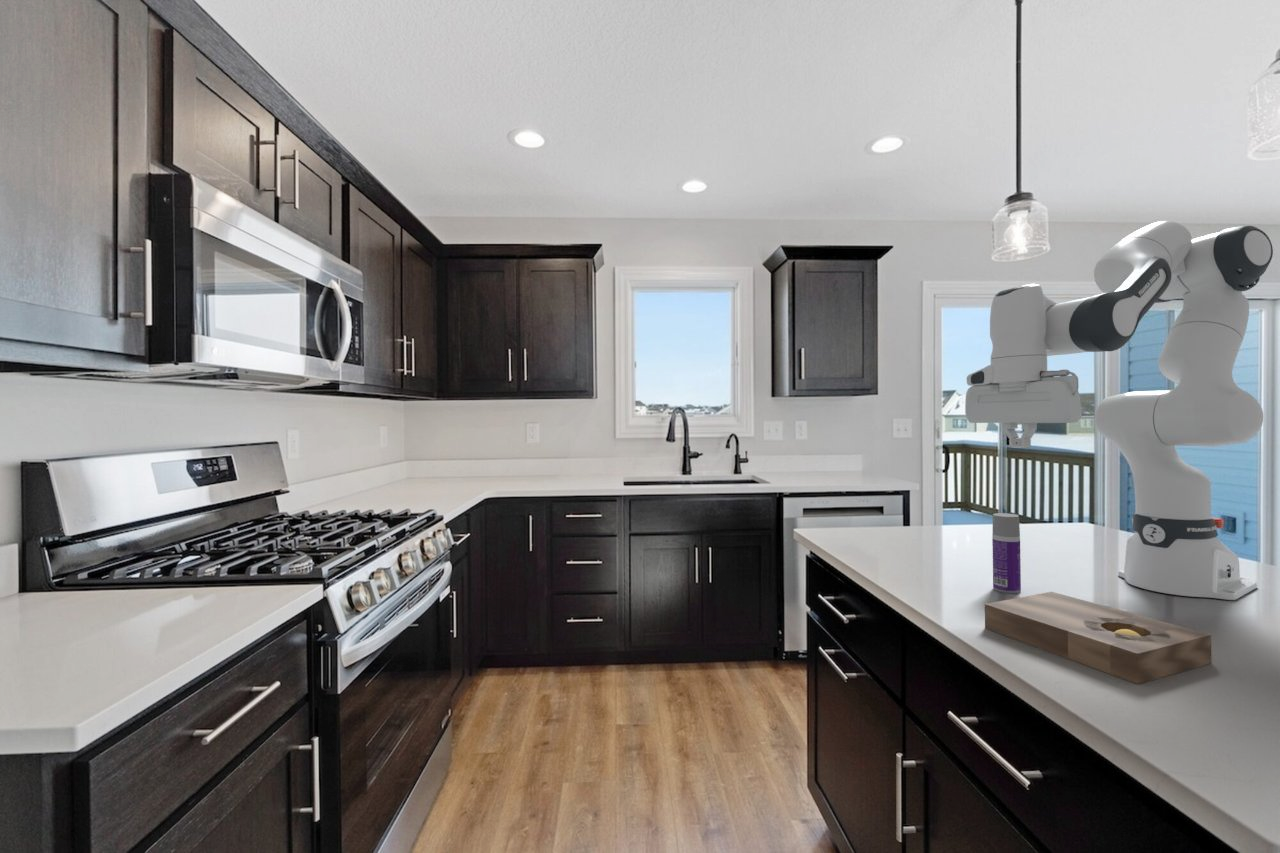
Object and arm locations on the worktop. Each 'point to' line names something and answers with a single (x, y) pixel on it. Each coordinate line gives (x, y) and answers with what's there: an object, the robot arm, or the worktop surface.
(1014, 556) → the container
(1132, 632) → the ball
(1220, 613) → the worktop surface
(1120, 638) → the board
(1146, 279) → the robot arm
